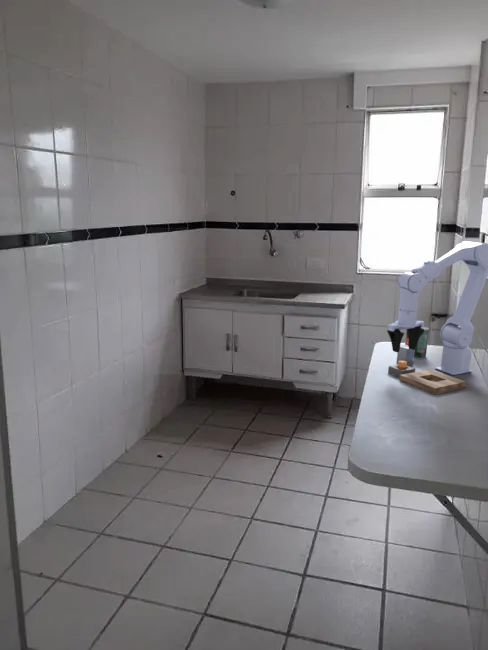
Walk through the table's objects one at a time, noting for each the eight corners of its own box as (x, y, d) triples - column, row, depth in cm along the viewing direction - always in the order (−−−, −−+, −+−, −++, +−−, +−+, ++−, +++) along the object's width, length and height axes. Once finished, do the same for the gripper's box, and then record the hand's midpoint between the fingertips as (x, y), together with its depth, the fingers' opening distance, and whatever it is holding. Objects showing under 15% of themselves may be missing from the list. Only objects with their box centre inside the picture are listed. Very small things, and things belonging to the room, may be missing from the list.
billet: (404, 364, 196) (406, 344, 194) (413, 367, 193) (415, 347, 191) (396, 365, 194) (398, 346, 192) (404, 368, 191) (406, 348, 189)
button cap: (401, 367, 185) (402, 360, 184) (408, 369, 183) (408, 362, 182) (395, 368, 184) (396, 361, 183) (402, 370, 181) (402, 363, 181)
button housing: (400, 370, 188) (401, 363, 187) (414, 375, 183) (415, 368, 182) (388, 373, 184) (388, 366, 184) (401, 378, 179) (402, 371, 179)
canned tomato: (429, 356, 207) (432, 327, 205) (419, 360, 202) (423, 330, 199) (410, 351, 212) (413, 323, 210) (400, 355, 207) (403, 326, 204)
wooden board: (429, 375, 184) (430, 369, 184) (465, 387, 172) (466, 381, 172) (399, 380, 177) (400, 374, 177) (434, 394, 165) (435, 388, 165)
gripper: (414, 305, 186) (409, 345, 189) (382, 309, 178) (378, 349, 181) (430, 309, 180) (426, 350, 183) (399, 313, 172) (394, 355, 175)
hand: (403, 350), depth 182 cm, fingers open, 7 cm apart
